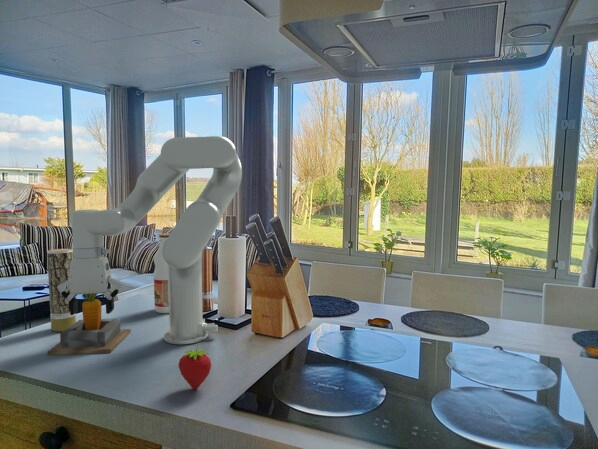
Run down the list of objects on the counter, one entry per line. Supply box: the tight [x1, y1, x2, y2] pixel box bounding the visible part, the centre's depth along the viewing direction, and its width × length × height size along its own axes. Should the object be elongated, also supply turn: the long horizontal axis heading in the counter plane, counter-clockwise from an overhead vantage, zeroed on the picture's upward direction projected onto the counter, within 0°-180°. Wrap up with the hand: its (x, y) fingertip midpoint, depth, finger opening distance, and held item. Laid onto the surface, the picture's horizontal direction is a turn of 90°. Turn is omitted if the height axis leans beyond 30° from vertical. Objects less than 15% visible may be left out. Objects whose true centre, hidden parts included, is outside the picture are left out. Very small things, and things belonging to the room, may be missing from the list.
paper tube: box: [46, 248, 77, 333], centre depth 125 cm, size 7×7×25 cm
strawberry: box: [177, 342, 212, 390], centre depth 87 cm, size 6×8×10 cm
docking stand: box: [47, 318, 131, 356], centre depth 114 cm, size 16×16×5 cm
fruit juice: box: [153, 232, 171, 314], centre depth 145 cm, size 9×9×28 cm
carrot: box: [81, 294, 102, 330], centre depth 113 cm, size 5×5×15 cm
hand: (92, 313), depth 113 cm, fingers open, 9 cm apart
